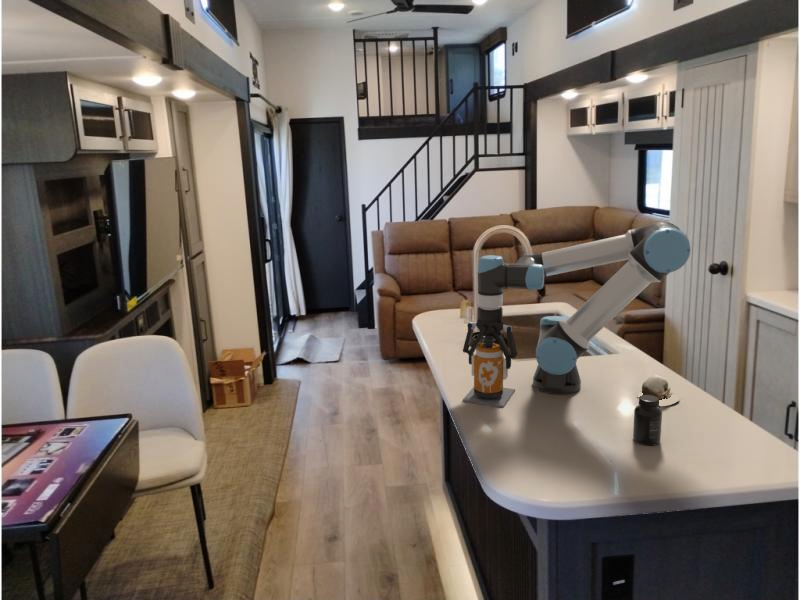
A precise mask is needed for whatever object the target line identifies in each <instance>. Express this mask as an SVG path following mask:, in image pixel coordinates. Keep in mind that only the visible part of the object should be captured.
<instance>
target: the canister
mask: <svg viewBox="0 0 800 600" xmlns="http://www.w3.org/2000/svg"><path fill="white" fill-rule="evenodd" d="M477 344H478V346H477V348H476V349H475V353H476V354H475V355H474V376H473V387H474V394H475V395H477V396H479V397H482V398H486V399H492V398H496V397H500V396H501V395H502V394H503V388H504V380H503V359H504V358H505V356H504V354H503V352H502V350H501V348H500V346H499V344H498V343H495V337H493V336H491V335H485V336H484V339H483V338H482V339H481V341H480V343H477Z"/></svg>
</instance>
